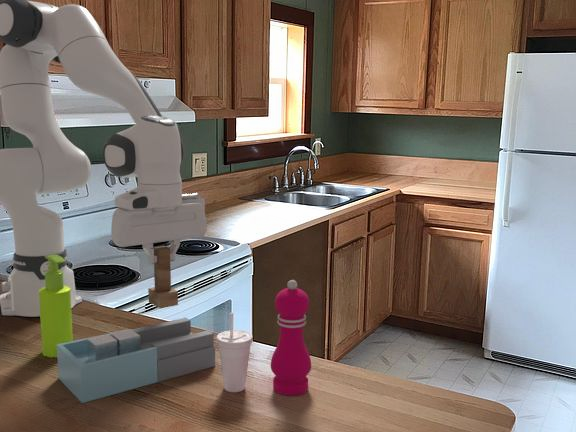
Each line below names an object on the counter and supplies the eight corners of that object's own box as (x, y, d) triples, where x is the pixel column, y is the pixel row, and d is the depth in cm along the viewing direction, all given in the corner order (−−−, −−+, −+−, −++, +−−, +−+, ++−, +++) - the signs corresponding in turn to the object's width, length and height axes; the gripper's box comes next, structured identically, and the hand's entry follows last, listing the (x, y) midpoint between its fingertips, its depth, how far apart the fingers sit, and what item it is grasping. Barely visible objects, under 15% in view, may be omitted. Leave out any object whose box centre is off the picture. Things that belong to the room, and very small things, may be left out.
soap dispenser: (51, 361, 123) (45, 261, 119) (38, 351, 128) (32, 254, 124) (80, 354, 127) (75, 257, 123) (66, 344, 132) (61, 250, 128)
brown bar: (148, 302, 134) (147, 246, 132) (165, 298, 136) (164, 244, 134) (160, 308, 130) (158, 251, 128) (177, 304, 132) (176, 248, 130)
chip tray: (58, 378, 116) (56, 344, 114) (130, 360, 124) (129, 328, 123) (81, 403, 106) (80, 366, 105) (157, 382, 115) (156, 348, 114)
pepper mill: (307, 399, 109) (309, 287, 105) (266, 394, 110) (267, 284, 107) (313, 381, 116) (316, 276, 112) (275, 377, 117) (276, 273, 114)
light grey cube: (87, 359, 114) (86, 338, 114) (109, 354, 117) (108, 333, 116) (96, 366, 111) (95, 345, 111) (117, 361, 114) (117, 340, 113)
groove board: (130, 360, 124) (129, 328, 123) (185, 346, 131) (184, 316, 130) (158, 382, 115) (157, 348, 114) (215, 366, 122) (214, 334, 121)
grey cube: (111, 354, 117) (110, 333, 116) (131, 349, 119) (131, 329, 119) (120, 361, 114) (119, 340, 113) (140, 356, 116) (140, 335, 115)
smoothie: (212, 383, 115) (211, 309, 112) (245, 377, 117) (245, 305, 115) (222, 398, 109) (222, 320, 106) (257, 392, 111) (258, 316, 109)
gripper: (197, 191, 138) (198, 252, 140) (106, 198, 126) (109, 266, 128) (212, 194, 133) (212, 258, 135) (119, 202, 121) (122, 272, 123)
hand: (161, 262), depth 132 cm, fingers closed on brown bar, 2 cm apart
